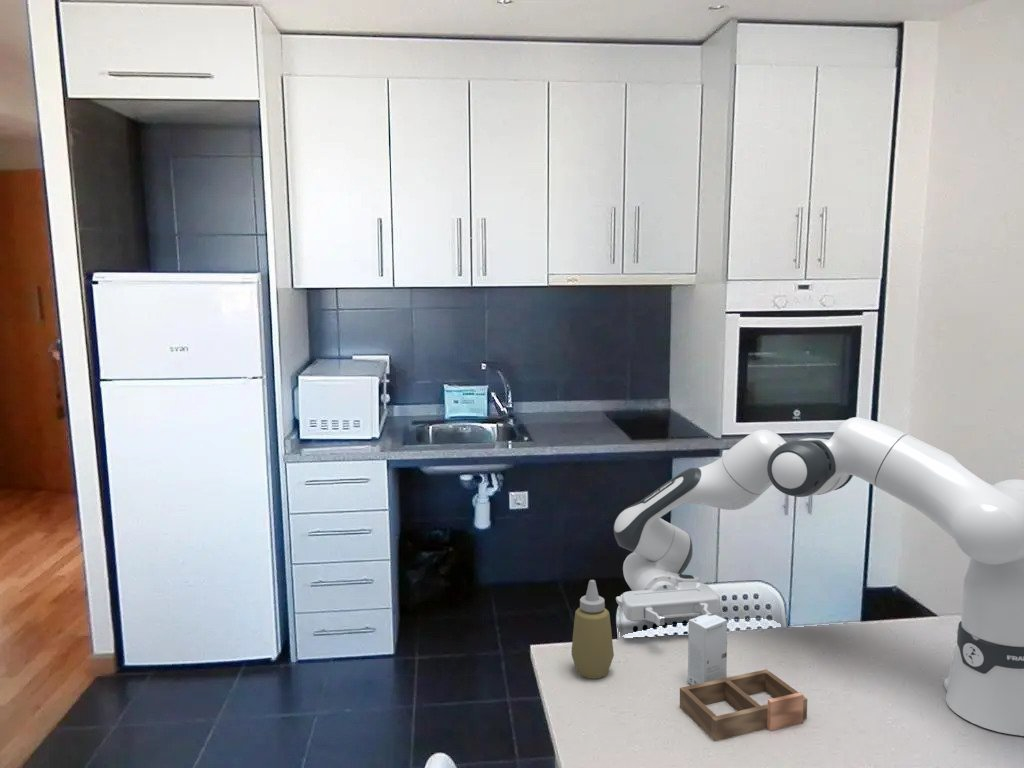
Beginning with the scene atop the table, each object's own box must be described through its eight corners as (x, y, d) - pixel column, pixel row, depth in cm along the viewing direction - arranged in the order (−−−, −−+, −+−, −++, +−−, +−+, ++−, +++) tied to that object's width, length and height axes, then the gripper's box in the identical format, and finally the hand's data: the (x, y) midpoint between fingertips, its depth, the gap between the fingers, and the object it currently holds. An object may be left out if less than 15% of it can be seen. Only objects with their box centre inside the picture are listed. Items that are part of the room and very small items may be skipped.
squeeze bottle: (568, 680, 137) (567, 587, 135) (574, 659, 144) (574, 571, 142) (611, 684, 135) (611, 591, 133) (616, 663, 143) (616, 574, 140)
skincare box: (704, 693, 131) (705, 628, 130) (686, 682, 135) (686, 619, 134) (727, 682, 135) (729, 620, 133) (709, 672, 139) (710, 611, 137)
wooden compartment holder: (766, 687, 133) (766, 661, 132) (810, 721, 122) (811, 692, 122) (679, 706, 127) (679, 679, 127) (717, 743, 117) (718, 714, 116)
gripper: (613, 582, 157) (633, 608, 144) (703, 574, 160) (732, 600, 147) (613, 610, 158) (633, 639, 144) (703, 602, 161) (731, 630, 147)
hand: (684, 619), depth 145 cm, fingers open, 8 cm apart
